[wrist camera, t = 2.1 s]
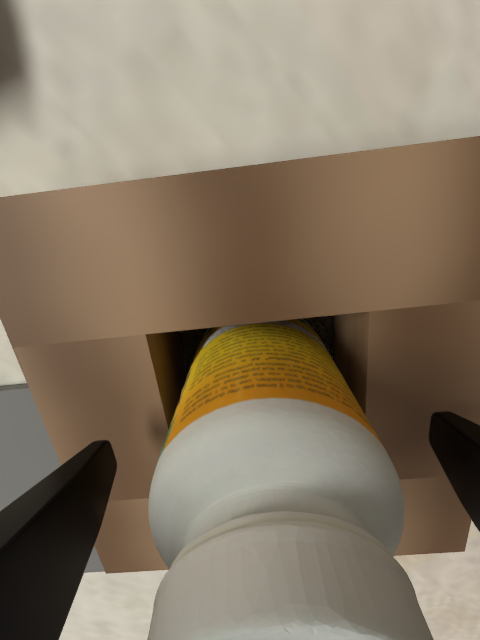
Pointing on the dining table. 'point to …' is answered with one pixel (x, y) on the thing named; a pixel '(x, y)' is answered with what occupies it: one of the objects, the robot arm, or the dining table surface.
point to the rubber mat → (26, 450)
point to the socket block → (252, 307)
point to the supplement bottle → (276, 500)
